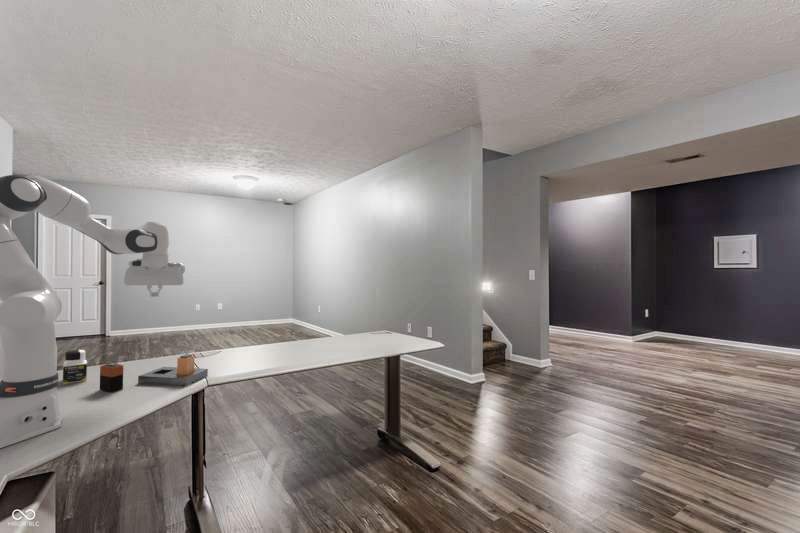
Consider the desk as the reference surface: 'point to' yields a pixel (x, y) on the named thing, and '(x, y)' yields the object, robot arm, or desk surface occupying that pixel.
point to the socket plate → (171, 376)
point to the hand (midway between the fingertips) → (154, 296)
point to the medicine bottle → (74, 367)
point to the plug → (185, 364)
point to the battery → (111, 377)
